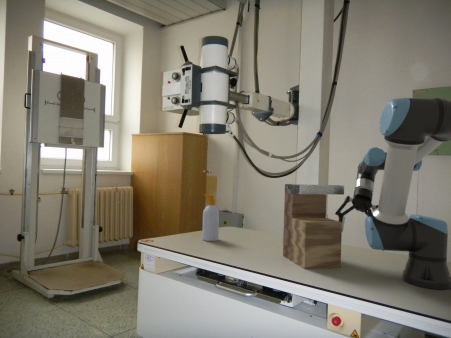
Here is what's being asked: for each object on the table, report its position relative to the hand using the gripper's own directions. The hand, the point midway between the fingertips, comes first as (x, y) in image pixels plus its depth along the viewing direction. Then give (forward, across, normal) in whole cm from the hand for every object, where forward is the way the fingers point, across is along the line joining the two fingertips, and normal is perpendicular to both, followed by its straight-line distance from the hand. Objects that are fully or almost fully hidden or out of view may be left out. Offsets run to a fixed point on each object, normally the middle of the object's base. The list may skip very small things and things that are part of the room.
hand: (356, 237), depth 139 cm
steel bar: (-16, +19, -5) cm, 25 cm away
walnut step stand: (+12, +13, -12) cm, 22 cm away
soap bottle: (+7, +59, -47) cm, 76 cm away
